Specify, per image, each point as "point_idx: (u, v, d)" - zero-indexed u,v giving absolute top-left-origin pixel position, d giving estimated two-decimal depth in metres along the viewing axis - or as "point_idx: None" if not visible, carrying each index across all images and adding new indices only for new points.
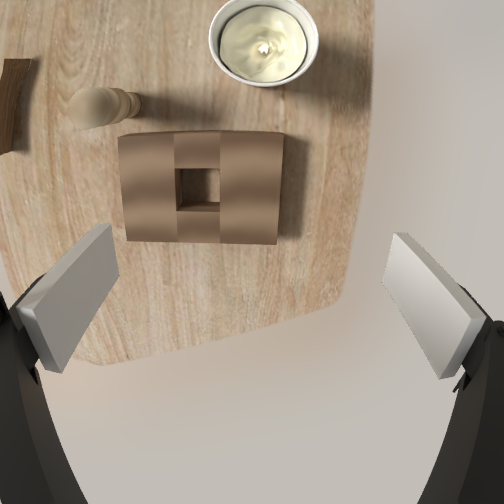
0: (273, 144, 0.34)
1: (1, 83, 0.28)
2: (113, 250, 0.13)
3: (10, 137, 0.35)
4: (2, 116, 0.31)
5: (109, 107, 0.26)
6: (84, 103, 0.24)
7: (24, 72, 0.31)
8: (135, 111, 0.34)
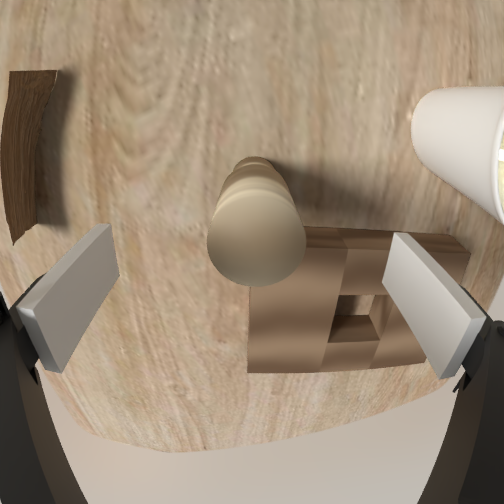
0: (458, 264, 0.24)
1: (7, 117, 0.17)
2: (113, 250, 0.13)
3: (32, 203, 0.24)
4: (15, 173, 0.20)
5: None
6: (254, 235, 0.13)
7: (46, 94, 0.20)
8: None
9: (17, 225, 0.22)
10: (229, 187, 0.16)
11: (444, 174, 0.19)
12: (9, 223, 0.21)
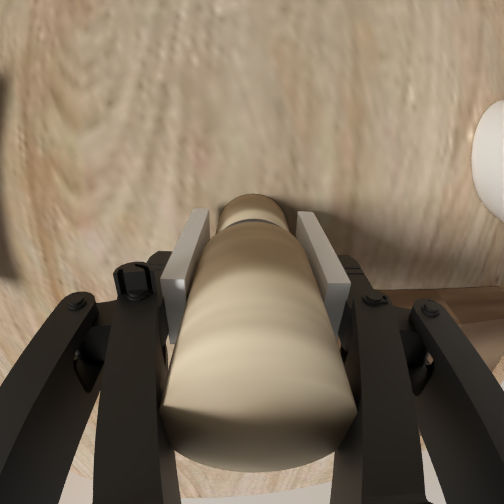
0: None
1: None
2: (209, 233, 0.15)
3: None
4: None
5: None
6: (253, 427, 0.06)
7: None
8: None
9: None
10: (203, 293, 0.08)
11: None
12: None
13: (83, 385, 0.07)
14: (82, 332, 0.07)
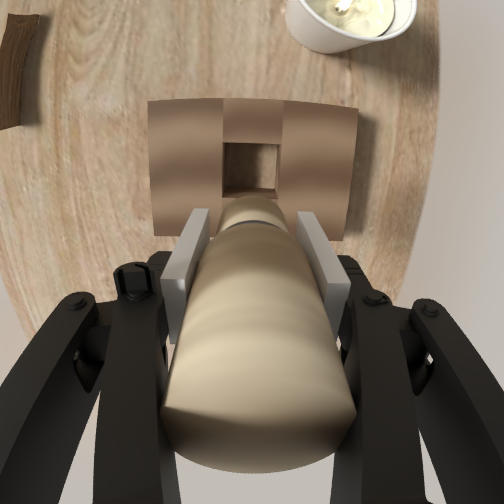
0: (346, 118, 0.26)
1: (4, 42, 0.20)
2: (209, 233, 0.15)
3: (16, 108, 0.27)
4: (6, 81, 0.23)
5: None
6: (253, 429, 0.06)
7: (32, 30, 0.23)
8: None
9: (3, 119, 0.25)
10: (203, 295, 0.08)
11: (300, 31, 0.22)
12: None
13: (83, 385, 0.07)
14: (82, 332, 0.07)
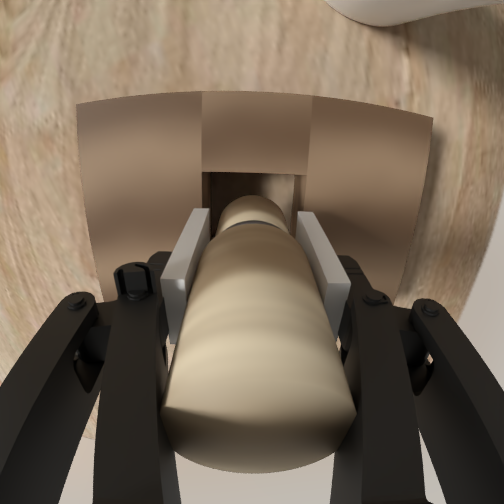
0: (415, 133, 0.15)
1: None
2: (209, 233, 0.15)
3: None
4: None
5: None
6: (253, 429, 0.06)
7: None
8: None
9: None
10: (203, 295, 0.08)
11: None
12: None
13: (83, 385, 0.07)
14: (82, 332, 0.07)
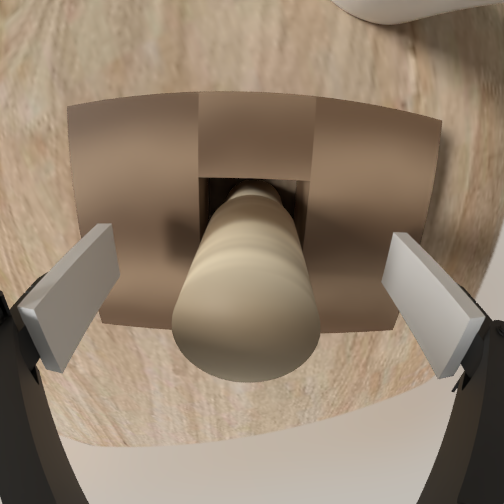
0: (423, 137, 0.14)
1: None
2: (114, 250, 0.13)
3: None
4: None
5: None
6: (241, 322, 0.09)
7: None
8: None
9: None
10: (210, 236, 0.11)
11: None
12: None
13: None
14: None
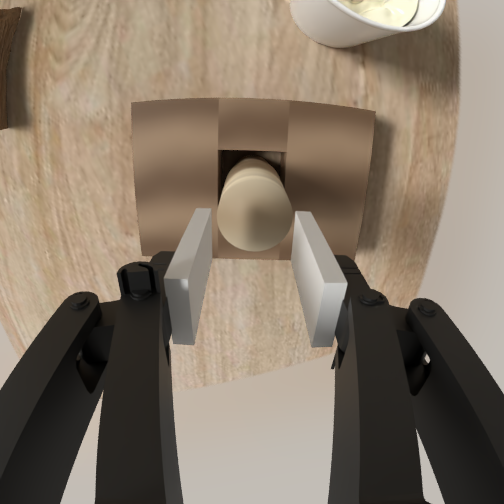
0: (361, 122, 0.23)
1: None
2: (211, 233, 0.15)
3: (3, 109, 0.23)
4: None
5: None
6: (253, 209, 0.18)
7: (14, 24, 0.19)
8: None
9: None
10: (233, 176, 0.20)
11: (308, 20, 0.18)
12: None
13: (86, 385, 0.07)
14: (85, 332, 0.07)
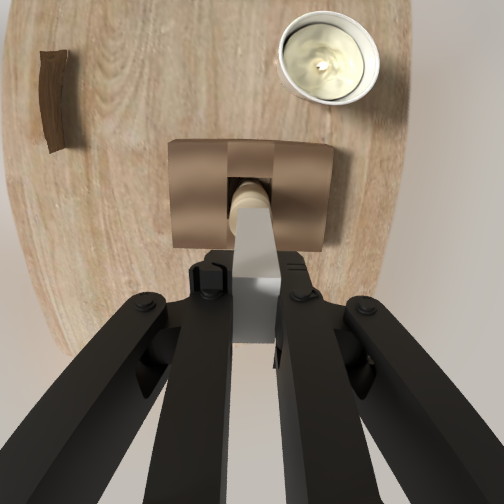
0: (324, 156, 0.36)
1: (41, 76, 0.29)
2: None
3: (60, 133, 0.36)
4: (48, 110, 0.32)
5: None
6: None
7: (62, 64, 0.32)
8: None
9: (52, 143, 0.34)
10: (237, 196, 0.33)
11: (287, 87, 0.31)
12: (46, 139, 0.33)
13: (141, 389, 0.08)
14: (149, 336, 0.07)
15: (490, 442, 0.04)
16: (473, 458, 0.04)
